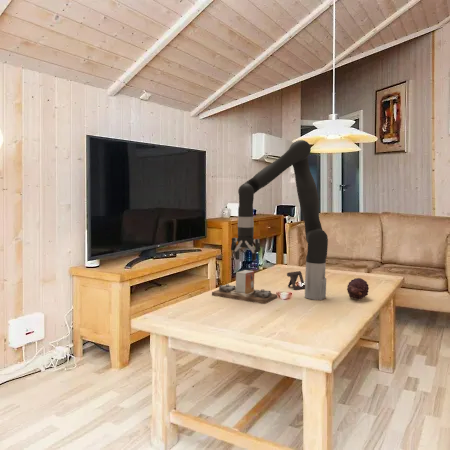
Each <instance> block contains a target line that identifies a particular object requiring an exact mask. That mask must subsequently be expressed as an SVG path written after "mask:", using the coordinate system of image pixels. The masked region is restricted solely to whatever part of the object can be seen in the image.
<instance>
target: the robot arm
mask: <svg viewBox="0 0 450 450" xmlns="http://www.w3.org/2000/svg"><path fill="white" fill-rule="evenodd" d="M310 154H311V145H310V143H309V142H308V141H306V140H303V139H298V140H296V141H294V142H293V143H291V145H290V146H289V148H288V149H287V150H286V152H285V153H283V155H281V156H280V157H278V158H277V159H275V160H274V161H273V162H271V163H270V164H268V165H267V166H265V167H264V168H262V169H261V170H260V171H258V172H257V173H256V174H255V175H254V176H253V177H251V178H250V179H248V180H247V181H245V182H244V183H243V184H241V185H240V186H239V188H238V202H239V203H238V210H237V213H238V215H237V216H238V218H237V237H232V238H231V251H234V258H235V260H240V250H241V249H242V248H245V249H249V250H250V251H251V261H252V262H255V261H256V260H257V254H258V252H261V240H260V238H256V239H255V238H254V234H255V233H254V232H255V229H254V227H255V226H254V225H255V224H254V199H255V198H254V197H255V196H254V195H255V194H256V193H257V192H258V191H259V190H260V189H263V188H264V187H266V186H268V185H269V184H270V183H271V182H273V181H274V180H276V179H277V177H278V176H280V175H281V174H283V172H284V171H286V170H288V169H289V168H290V167H292V168H293V172H294V177H295V178H294V179H295V185H296V186H295V187H296V193H297V198H298V202H299V206H300V207H299V208H300V209H301V214H302V218H303V222H304V232H305V241H306V243H307V253H306V257H305V280H304V284H305V288H304V298H305V299H308V300H313V301H314V300H316V301H317V300H318V301H319V300H321V301H323V300H324V299H326V297H327V296H326V295H327V278H326V269H327V268H326V267H327V265H326V264H327V263H326V262H327V256H328V248H329V247H328V246H329V245H328V244H329V238H328V234H327V232H326V231H325V230H323V227H322V223H321V220H320V214H319V213H320V201H319V200H320V199H319V194H318V189H317V184H316V182H315V179H314V177H313V175H312V172H311V171H310V165H309V164H310V163H309V156H310ZM237 243H238V244H237ZM254 244H255V245H254Z"/></svg>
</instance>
